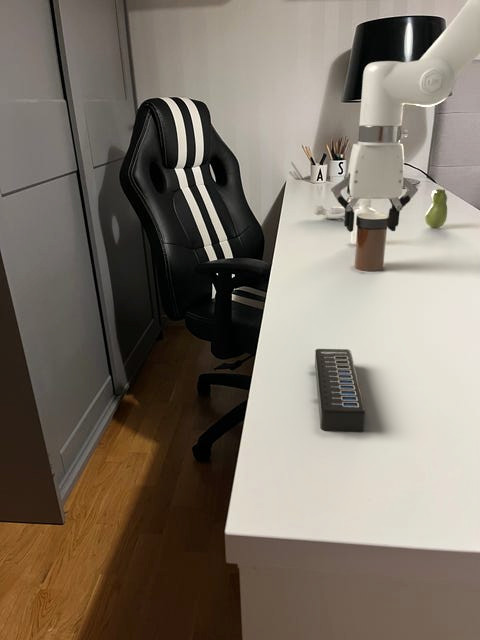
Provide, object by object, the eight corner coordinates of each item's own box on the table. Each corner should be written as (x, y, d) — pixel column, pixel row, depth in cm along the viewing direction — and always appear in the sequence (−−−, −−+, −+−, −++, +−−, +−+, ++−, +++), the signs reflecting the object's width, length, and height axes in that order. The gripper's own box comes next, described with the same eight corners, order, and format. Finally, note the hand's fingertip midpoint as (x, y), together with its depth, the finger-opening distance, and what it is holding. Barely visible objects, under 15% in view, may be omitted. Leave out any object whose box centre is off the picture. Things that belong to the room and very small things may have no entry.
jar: (379, 262, 105) (383, 215, 101) (386, 271, 100) (391, 221, 96) (351, 263, 105) (354, 215, 102) (357, 271, 100) (361, 222, 96)
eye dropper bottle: (372, 246, 117) (377, 194, 113) (348, 244, 119) (352, 193, 115) (376, 242, 121) (380, 191, 116) (352, 240, 123) (356, 190, 118)
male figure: (390, 210, 137) (311, 208, 143) (389, 224, 138) (310, 221, 145) (392, 204, 146) (317, 201, 152) (391, 217, 147) (316, 214, 154)
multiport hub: (320, 430, 51) (321, 411, 50) (314, 364, 65) (315, 348, 64) (364, 432, 51) (366, 412, 50) (349, 364, 64) (350, 348, 63)
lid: (384, 221, 102) (384, 212, 101) (392, 228, 96) (393, 218, 96) (353, 222, 102) (353, 213, 102) (359, 228, 96) (360, 219, 96)
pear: (446, 229, 132) (452, 190, 128) (425, 229, 133) (430, 190, 129) (443, 225, 137) (448, 187, 133) (422, 224, 138) (427, 187, 134)
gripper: (419, 134, 96) (408, 225, 103) (329, 135, 96) (323, 226, 103) (433, 136, 89) (420, 233, 96) (335, 138, 89) (329, 234, 96)
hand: (370, 229), depth 100 cm, fingers open, 7 cm apart
